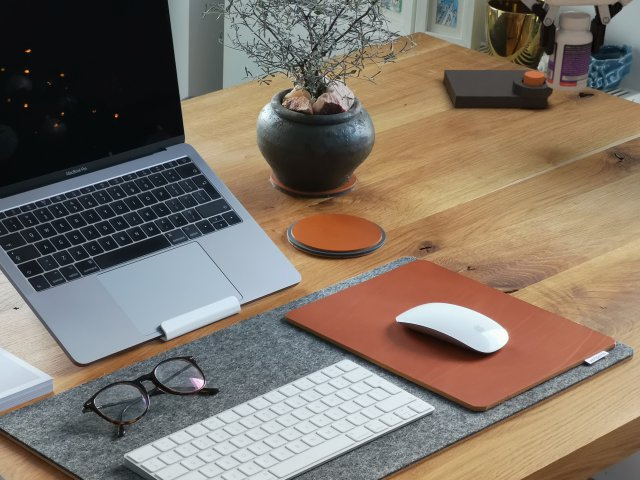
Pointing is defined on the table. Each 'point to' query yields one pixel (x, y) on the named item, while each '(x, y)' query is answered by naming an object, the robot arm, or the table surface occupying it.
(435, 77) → the table surface
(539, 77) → the button
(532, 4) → the robot arm
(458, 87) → the scale
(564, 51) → the pill bottle
